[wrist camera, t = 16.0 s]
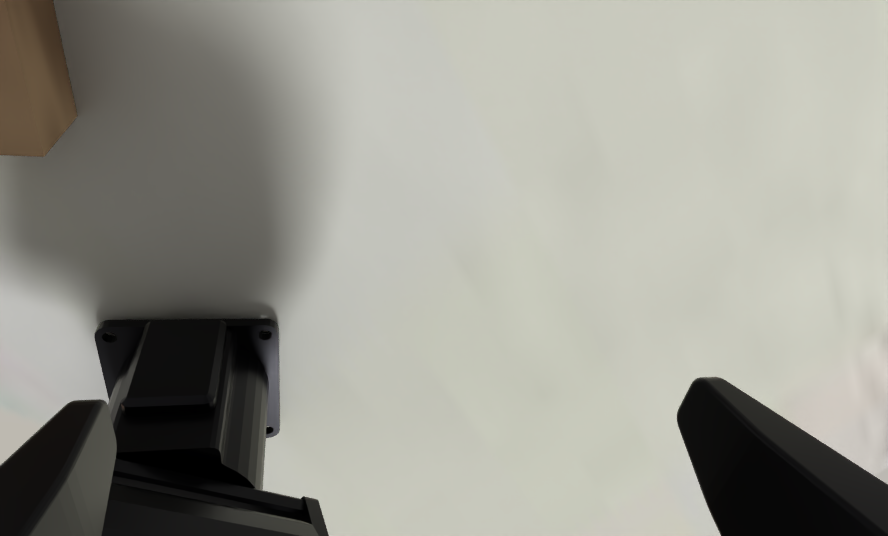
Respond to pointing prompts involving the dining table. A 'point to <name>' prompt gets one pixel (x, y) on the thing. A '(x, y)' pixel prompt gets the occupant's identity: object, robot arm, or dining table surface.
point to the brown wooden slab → (32, 79)
